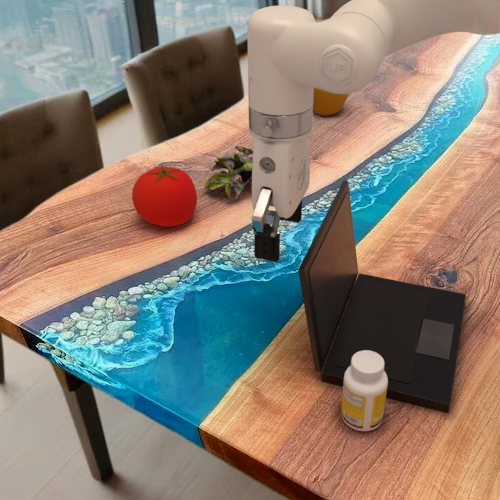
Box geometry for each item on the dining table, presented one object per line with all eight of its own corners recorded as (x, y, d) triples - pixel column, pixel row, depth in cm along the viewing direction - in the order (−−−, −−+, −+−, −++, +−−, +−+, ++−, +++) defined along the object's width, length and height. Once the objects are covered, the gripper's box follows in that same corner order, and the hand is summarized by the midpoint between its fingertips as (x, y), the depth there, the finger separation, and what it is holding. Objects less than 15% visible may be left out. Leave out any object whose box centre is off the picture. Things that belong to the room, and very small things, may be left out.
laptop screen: (349, 180, 97) (343, 180, 98) (304, 269, 79) (297, 269, 79) (359, 273, 106) (353, 272, 106) (321, 372, 88) (315, 372, 88)
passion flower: (245, 206, 138) (279, 163, 133) (238, 225, 128) (274, 179, 123) (202, 175, 136) (234, 130, 131) (191, 191, 126) (226, 144, 121)
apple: (345, 123, 159) (349, 72, 152) (302, 119, 162) (304, 68, 155) (351, 106, 168) (355, 57, 161) (310, 102, 171) (312, 54, 163)
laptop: (464, 302, 102) (466, 293, 101) (448, 413, 84) (450, 404, 83) (358, 280, 107) (359, 272, 106) (320, 381, 89) (321, 372, 88)
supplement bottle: (378, 400, 86) (386, 345, 80) (386, 432, 81) (394, 377, 76) (338, 400, 86) (343, 346, 80) (343, 433, 81) (348, 378, 76)
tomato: (209, 210, 126) (206, 162, 120) (181, 241, 117) (177, 191, 111) (155, 199, 130) (150, 152, 124) (125, 229, 121) (117, 179, 115)
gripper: (289, 153, 68) (286, 281, 78) (329, 95, 82) (322, 211, 91) (223, 144, 71) (228, 269, 80) (273, 89, 84) (272, 202, 94)
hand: (278, 238), depth 86 cm, fingers open, 9 cm apart
